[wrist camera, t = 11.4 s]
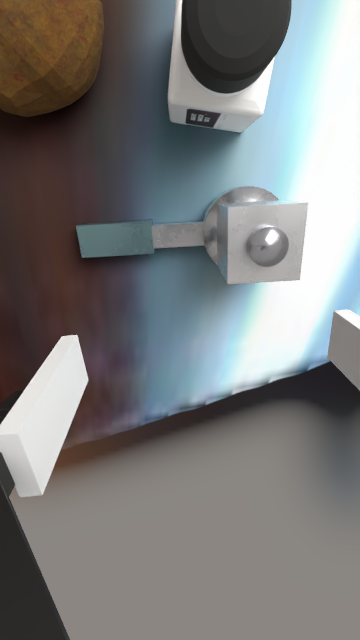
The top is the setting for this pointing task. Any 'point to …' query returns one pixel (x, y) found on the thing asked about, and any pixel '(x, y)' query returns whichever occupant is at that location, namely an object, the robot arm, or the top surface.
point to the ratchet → (161, 230)
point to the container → (224, 60)
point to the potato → (48, 53)
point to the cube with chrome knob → (260, 240)
